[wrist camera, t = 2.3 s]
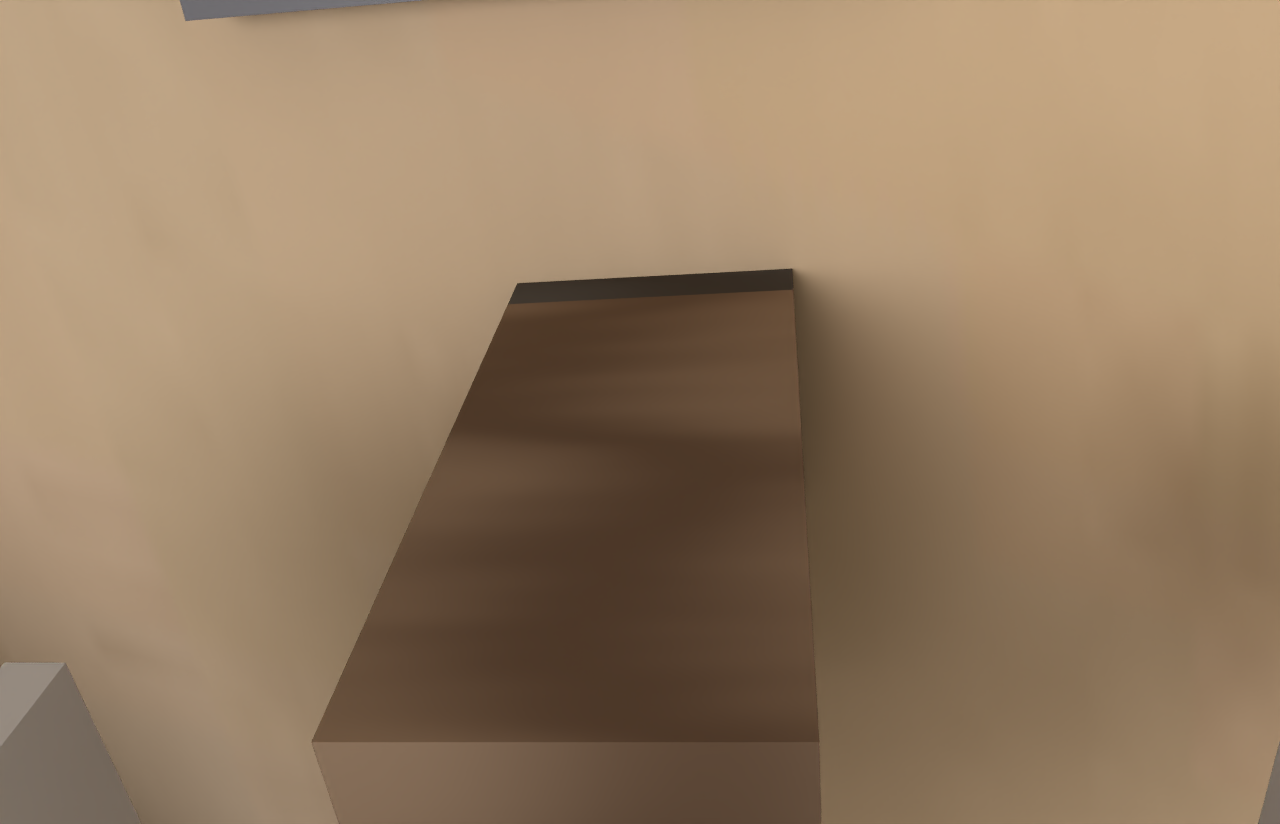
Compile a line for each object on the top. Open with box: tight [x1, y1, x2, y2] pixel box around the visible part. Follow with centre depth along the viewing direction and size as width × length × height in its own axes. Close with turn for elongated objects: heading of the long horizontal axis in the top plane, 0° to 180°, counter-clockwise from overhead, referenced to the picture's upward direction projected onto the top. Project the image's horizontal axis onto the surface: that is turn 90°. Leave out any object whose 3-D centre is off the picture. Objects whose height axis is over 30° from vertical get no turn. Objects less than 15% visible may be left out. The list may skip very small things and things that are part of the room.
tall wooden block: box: [311, 269, 821, 824], centre depth 15 cm, size 4×4×10 cm
